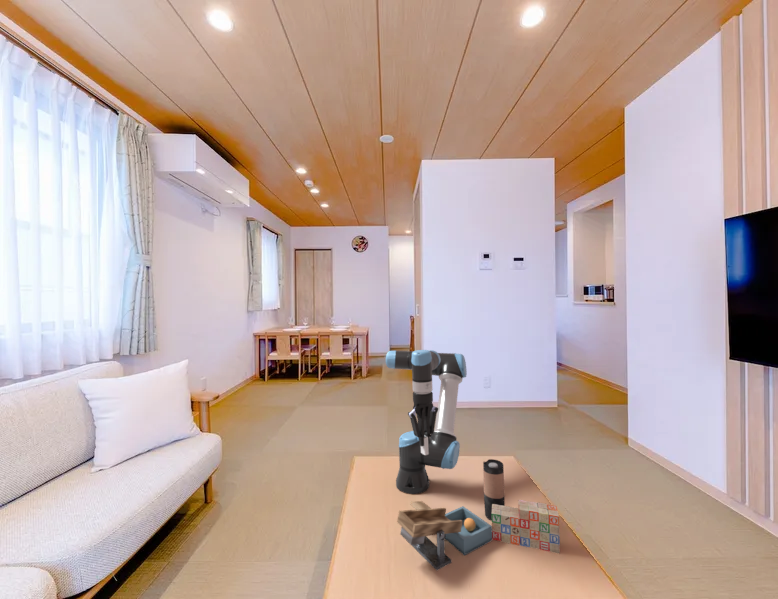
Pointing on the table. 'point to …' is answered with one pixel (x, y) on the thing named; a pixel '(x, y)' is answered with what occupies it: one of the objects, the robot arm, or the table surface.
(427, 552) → the stand
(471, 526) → the ball
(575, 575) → the table surface
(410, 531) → the chute
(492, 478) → the travel mug
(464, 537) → the tub
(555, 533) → the stack of blocks
